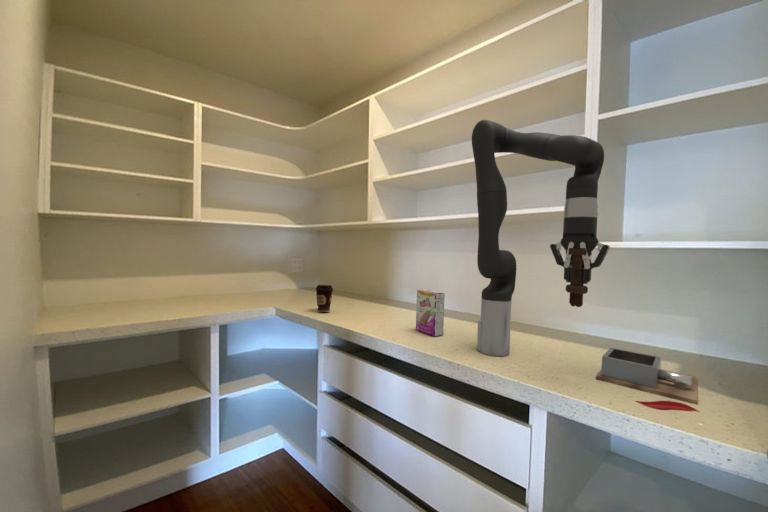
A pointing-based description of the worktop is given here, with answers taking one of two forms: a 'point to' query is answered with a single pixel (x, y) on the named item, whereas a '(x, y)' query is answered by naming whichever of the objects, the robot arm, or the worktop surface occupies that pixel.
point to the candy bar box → (430, 312)
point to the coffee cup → (324, 297)
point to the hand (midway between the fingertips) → (577, 282)
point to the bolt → (577, 277)
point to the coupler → (640, 369)
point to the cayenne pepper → (668, 405)
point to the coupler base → (660, 388)
